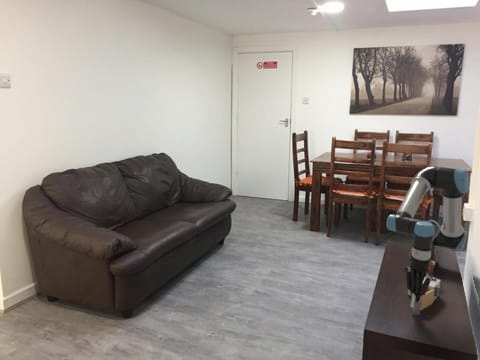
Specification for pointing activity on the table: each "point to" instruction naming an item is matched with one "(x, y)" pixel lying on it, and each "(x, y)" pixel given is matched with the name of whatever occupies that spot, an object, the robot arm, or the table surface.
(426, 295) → the door
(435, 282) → the housing
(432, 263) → the mug
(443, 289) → the table surface
